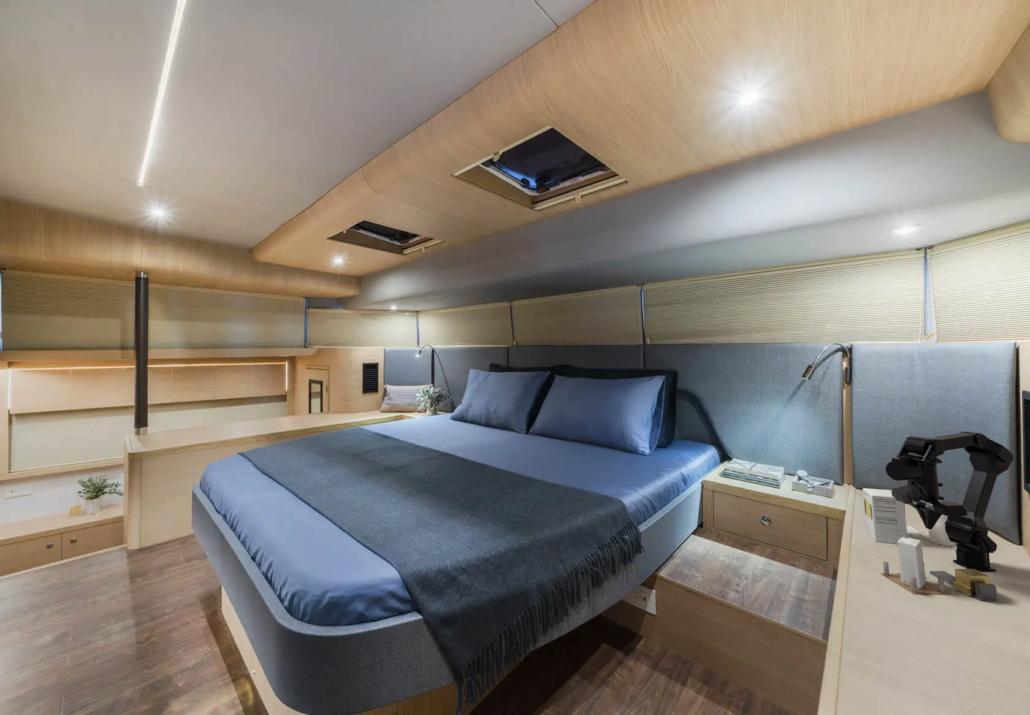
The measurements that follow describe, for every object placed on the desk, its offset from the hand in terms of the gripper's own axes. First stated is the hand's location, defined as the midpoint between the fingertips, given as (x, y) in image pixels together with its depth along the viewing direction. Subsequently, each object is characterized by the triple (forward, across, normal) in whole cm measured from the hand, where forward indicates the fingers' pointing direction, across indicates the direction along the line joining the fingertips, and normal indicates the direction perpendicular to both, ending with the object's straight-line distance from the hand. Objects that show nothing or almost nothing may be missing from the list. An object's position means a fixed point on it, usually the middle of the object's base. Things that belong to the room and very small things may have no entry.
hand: (929, 528), depth 122 cm
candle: (+13, -21, +22) cm, 33 cm away
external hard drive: (+14, -31, +14) cm, 37 cm away
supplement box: (+13, -24, +6) cm, 28 cm away
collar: (+13, +12, 0) cm, 17 cm away
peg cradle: (+13, +7, -12) cm, 19 cm away
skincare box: (+13, +7, -11) cm, 19 cm away
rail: (+13, +8, 0) cm, 16 cm away
